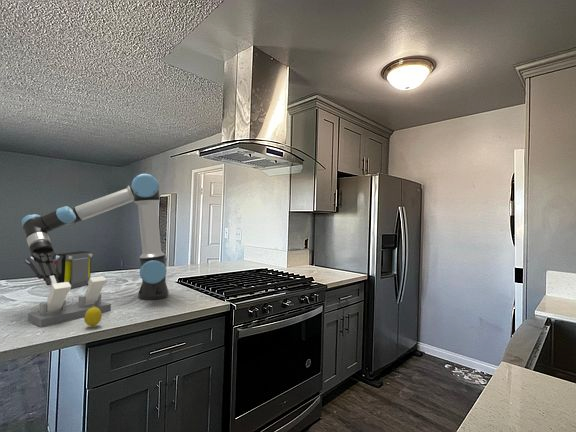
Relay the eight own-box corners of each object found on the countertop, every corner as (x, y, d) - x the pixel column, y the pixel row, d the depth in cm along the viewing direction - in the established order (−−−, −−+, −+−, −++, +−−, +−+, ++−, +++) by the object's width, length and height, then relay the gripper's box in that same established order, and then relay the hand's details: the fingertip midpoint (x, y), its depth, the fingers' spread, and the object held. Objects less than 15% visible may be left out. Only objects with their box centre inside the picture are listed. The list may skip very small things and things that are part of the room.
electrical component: (66, 290, 168) (68, 255, 169) (52, 289, 170) (53, 254, 171) (92, 284, 186) (94, 252, 186) (79, 282, 188) (80, 251, 188)
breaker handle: (80, 301, 132) (89, 277, 129) (94, 298, 137) (103, 275, 134) (83, 306, 131) (92, 282, 128) (97, 303, 136) (106, 280, 133)
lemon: (89, 324, 118) (90, 304, 118) (103, 324, 118) (104, 304, 119) (80, 329, 113) (81, 308, 113) (96, 329, 113) (97, 308, 113)
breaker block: (27, 320, 119) (28, 302, 120) (96, 306, 142) (97, 290, 142) (40, 327, 113) (41, 307, 114) (110, 310, 136) (111, 294, 136)
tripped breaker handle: (42, 308, 120) (52, 283, 117) (58, 305, 125) (68, 281, 122) (45, 314, 119) (54, 289, 115) (61, 310, 124) (71, 286, 120)
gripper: (54, 250, 136) (69, 293, 127) (17, 251, 124) (31, 299, 116) (61, 239, 133) (77, 282, 124) (24, 240, 122) (38, 287, 113)
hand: (55, 290), depth 120 cm, fingers closed
